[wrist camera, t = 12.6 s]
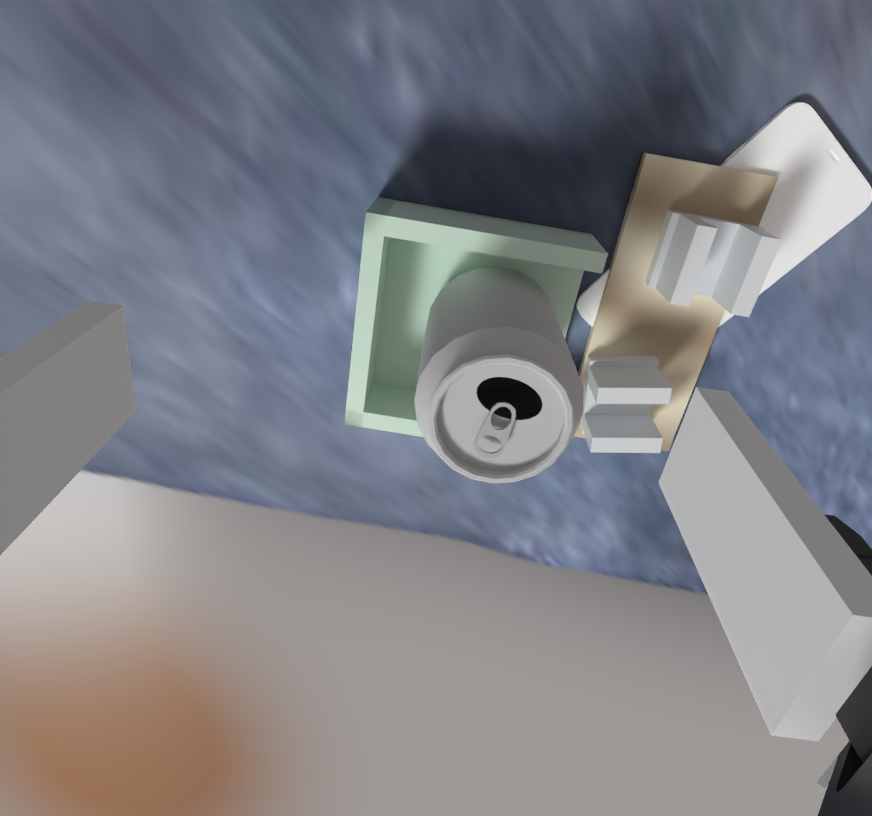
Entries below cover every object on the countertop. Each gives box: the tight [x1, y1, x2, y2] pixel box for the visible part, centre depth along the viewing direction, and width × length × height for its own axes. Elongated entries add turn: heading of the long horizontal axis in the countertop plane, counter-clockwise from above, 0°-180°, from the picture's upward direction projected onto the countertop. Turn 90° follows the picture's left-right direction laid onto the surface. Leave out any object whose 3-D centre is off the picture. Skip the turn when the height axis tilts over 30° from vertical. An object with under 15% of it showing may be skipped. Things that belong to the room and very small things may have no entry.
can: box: [414, 266, 584, 483], centre depth 31 cm, size 8×8×12 cm
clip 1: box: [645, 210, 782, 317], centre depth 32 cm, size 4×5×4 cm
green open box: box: [345, 197, 608, 437], centre depth 35 cm, size 12×12×4 cm
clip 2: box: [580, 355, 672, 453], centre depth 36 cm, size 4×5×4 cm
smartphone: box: [576, 102, 872, 327], centre depth 34 cm, size 7×1×15 cm
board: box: [574, 152, 778, 451], centre depth 36 cm, size 17×7×1 cm, turn 171°
